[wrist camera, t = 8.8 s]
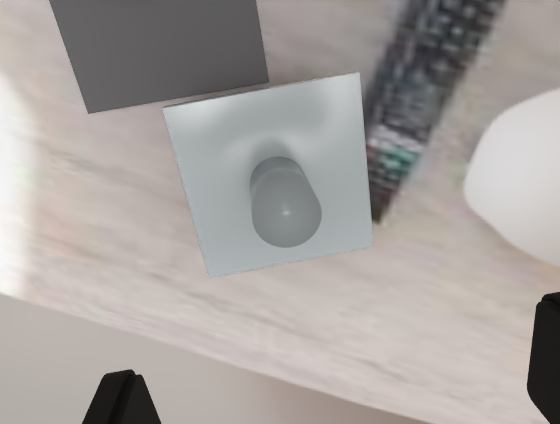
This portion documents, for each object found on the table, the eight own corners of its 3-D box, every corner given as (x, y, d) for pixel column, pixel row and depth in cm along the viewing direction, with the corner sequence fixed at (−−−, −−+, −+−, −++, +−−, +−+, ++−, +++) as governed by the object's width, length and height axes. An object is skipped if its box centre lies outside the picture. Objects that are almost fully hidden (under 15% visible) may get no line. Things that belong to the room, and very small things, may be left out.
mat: (243, -71, 27) (243, -73, 26) (268, 81, 31) (268, 81, 30) (39, -37, 26) (35, -38, 26) (90, 112, 30) (88, 113, 30)
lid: (354, 71, 22) (392, 77, 17) (369, 239, 27) (402, 288, 21) (165, 106, 22) (140, 124, 17) (210, 270, 26) (202, 328, 21)
